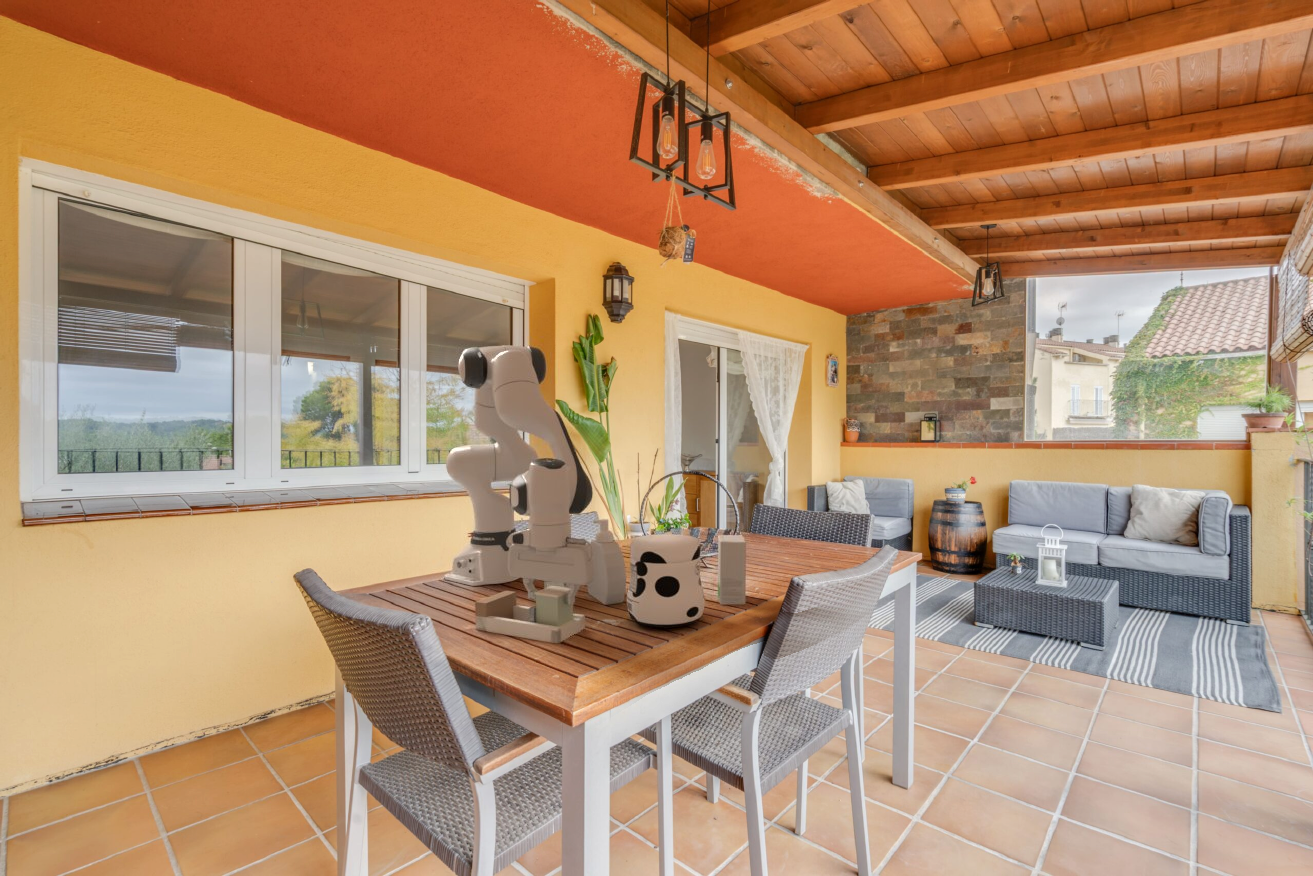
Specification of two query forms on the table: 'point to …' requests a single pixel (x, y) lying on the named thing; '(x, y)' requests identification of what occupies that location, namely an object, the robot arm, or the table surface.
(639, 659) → the table surface
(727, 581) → the skincare box
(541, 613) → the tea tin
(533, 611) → the block
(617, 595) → the soap bottle
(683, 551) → the milk container
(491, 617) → the frame
